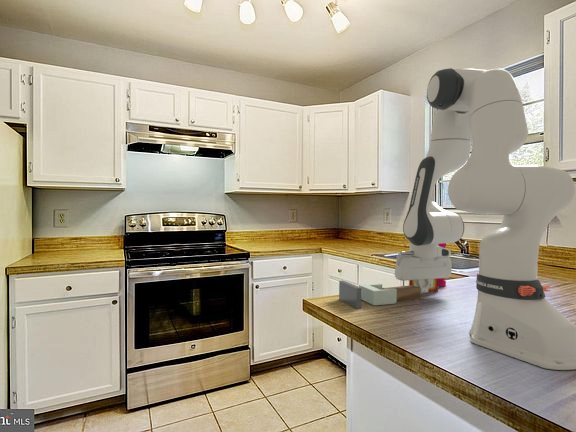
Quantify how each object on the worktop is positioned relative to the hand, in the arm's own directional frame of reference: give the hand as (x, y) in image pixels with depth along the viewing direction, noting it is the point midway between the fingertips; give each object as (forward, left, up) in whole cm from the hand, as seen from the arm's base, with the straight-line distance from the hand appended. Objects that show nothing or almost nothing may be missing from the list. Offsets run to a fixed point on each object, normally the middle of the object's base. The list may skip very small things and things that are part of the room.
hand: (422, 292), depth 114 cm
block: (0, +17, -2) cm, 18 cm away
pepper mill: (+14, -19, -2) cm, 23 cm away
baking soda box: (+10, -9, -2) cm, 13 cm away
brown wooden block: (0, +8, -2) cm, 9 cm away
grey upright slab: (0, +27, -2) cm, 27 cm away
